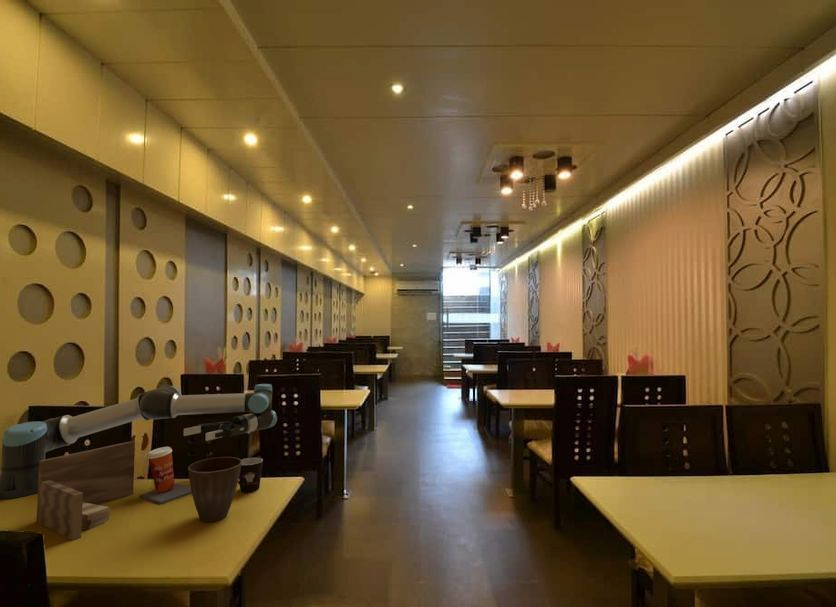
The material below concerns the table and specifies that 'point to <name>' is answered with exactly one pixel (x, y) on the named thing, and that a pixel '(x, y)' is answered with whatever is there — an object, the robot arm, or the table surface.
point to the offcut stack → (94, 515)
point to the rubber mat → (167, 494)
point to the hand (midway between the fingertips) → (194, 434)
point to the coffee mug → (250, 474)
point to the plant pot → (214, 486)
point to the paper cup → (162, 468)
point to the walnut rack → (82, 485)
